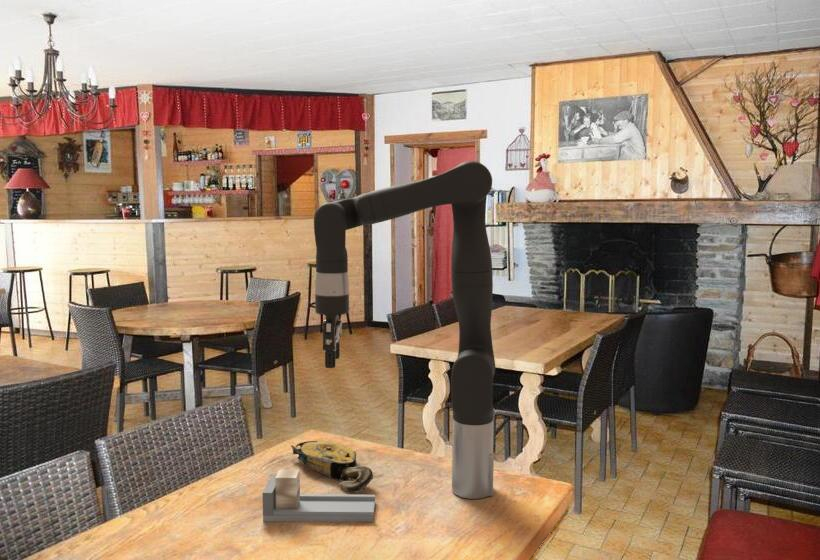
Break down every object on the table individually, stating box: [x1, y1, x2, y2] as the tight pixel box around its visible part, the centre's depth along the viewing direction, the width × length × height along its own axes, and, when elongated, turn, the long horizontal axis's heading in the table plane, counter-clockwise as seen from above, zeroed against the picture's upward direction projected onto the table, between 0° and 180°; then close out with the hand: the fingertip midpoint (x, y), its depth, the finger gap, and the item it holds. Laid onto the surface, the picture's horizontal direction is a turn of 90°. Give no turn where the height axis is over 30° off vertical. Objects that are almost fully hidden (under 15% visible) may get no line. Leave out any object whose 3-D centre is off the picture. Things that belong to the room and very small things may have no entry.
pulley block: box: [290, 440, 375, 493], centre depth 168 cm, size 14×6×30 cm
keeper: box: [275, 469, 301, 509], centre depth 146 cm, size 4×4×7 cm
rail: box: [262, 474, 376, 523], centre depth 146 cm, size 23×9×6 cm, turn 90°
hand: (332, 362), depth 154 cm, fingers open, 8 cm apart
